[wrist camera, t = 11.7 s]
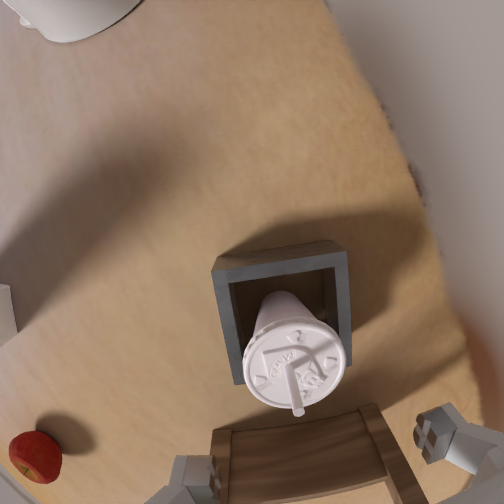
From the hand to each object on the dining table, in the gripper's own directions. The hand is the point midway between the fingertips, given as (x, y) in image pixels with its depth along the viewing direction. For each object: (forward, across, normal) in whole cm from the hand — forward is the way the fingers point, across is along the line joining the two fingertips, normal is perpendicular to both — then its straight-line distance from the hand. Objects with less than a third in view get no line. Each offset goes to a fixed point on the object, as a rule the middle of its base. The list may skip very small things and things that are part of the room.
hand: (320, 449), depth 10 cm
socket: (+17, 0, +1) cm, 17 cm away
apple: (+17, +35, +19) cm, 43 cm away
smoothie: (+18, 0, +2) cm, 18 cm away
